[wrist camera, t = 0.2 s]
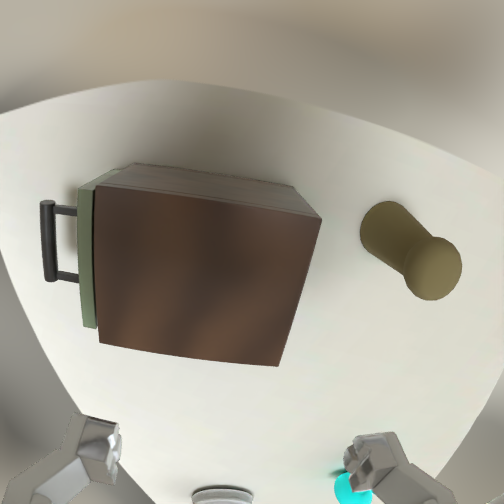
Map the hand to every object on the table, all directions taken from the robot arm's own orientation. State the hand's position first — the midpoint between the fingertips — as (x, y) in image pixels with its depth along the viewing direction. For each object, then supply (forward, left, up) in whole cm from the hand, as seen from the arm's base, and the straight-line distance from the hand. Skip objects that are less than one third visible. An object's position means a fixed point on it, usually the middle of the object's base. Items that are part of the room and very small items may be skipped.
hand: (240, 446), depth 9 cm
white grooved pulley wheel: (+58, +7, -23) cm, 63 cm away
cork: (-2, +16, -23) cm, 28 cm away
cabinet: (+2, -2, -23) cm, 23 cm away
